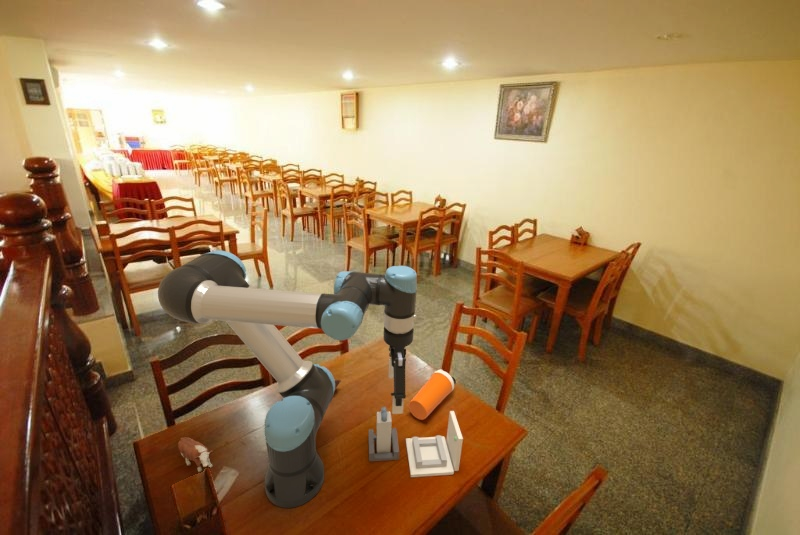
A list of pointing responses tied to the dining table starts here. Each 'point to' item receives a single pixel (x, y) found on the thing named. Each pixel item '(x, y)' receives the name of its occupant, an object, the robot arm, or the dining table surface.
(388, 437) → the plug
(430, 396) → the shaker bottle
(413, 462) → the port
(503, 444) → the dining table surface
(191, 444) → the bull figurine
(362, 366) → the dining table surface
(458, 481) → the dining table surface
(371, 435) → the grey square frame
